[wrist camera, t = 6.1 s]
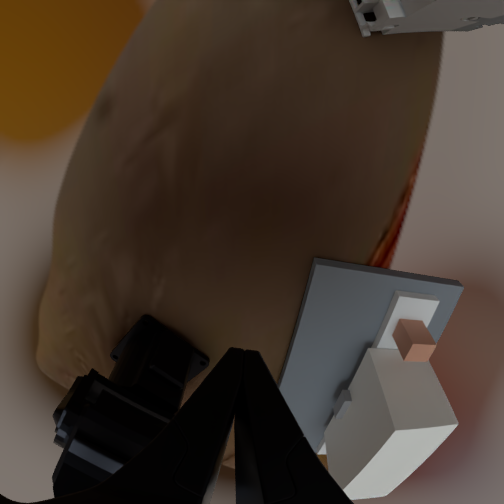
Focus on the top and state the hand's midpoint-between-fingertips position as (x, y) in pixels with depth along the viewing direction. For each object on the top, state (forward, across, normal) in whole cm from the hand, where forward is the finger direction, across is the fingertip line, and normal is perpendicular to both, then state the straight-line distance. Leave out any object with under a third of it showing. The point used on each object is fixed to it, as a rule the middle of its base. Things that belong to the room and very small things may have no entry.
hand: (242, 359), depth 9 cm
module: (+11, -12, +13) cm, 21 cm away
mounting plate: (+12, -10, +13) cm, 20 cm away
